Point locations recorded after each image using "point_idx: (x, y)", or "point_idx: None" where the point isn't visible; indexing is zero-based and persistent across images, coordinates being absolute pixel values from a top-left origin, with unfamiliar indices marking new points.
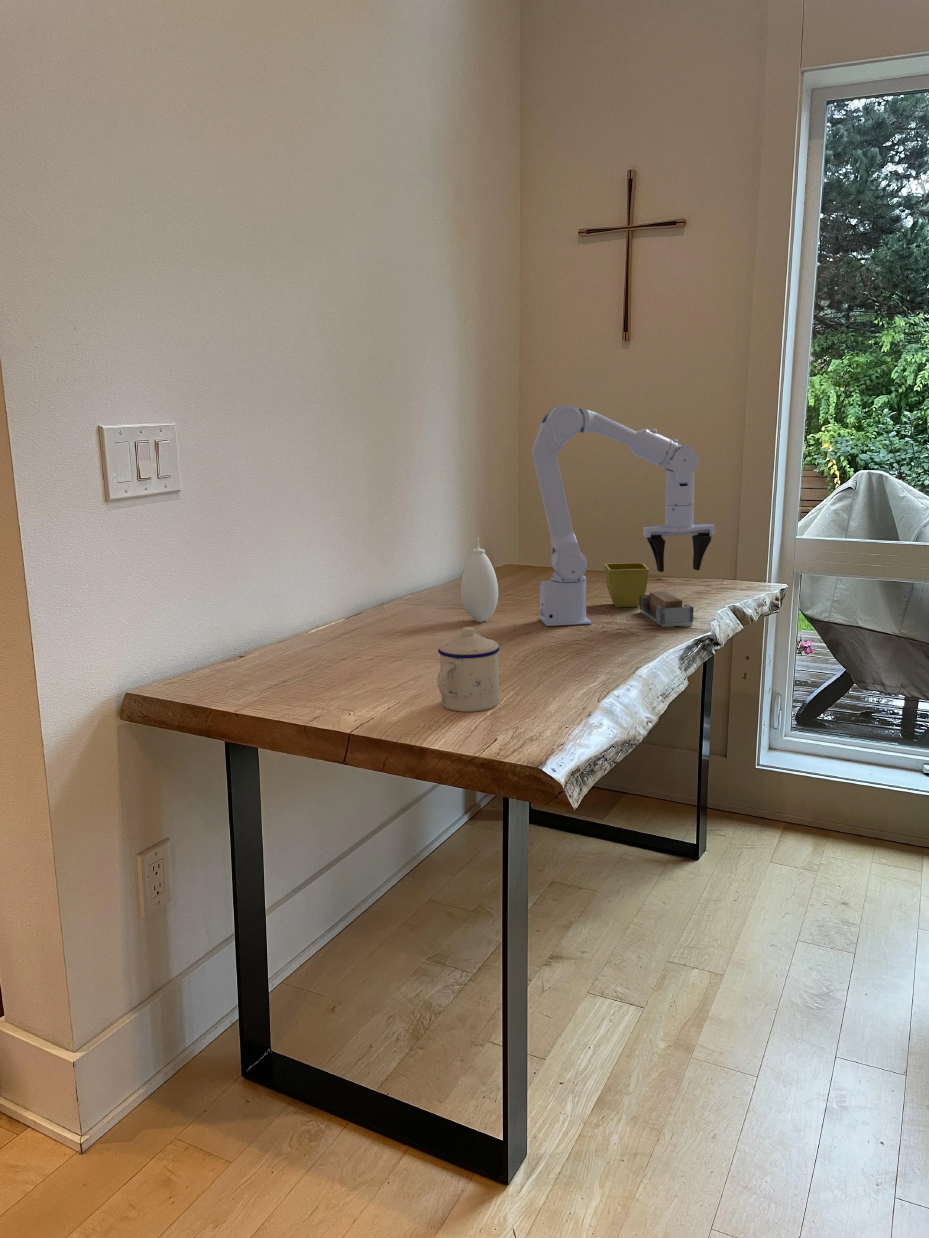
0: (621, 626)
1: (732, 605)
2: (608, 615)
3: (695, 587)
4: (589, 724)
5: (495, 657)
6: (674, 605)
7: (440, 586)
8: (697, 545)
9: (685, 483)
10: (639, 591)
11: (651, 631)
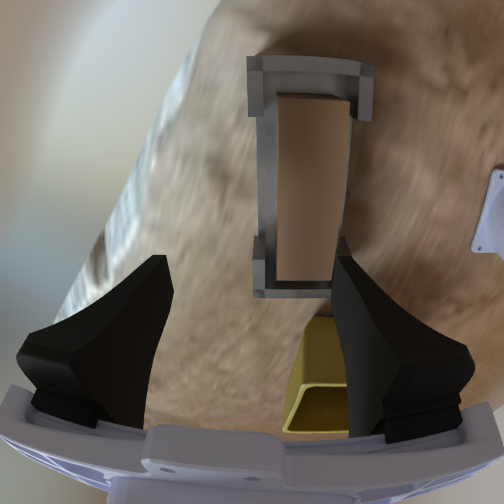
0: (446, 120)
1: (98, 283)
2: (418, 251)
3: (157, 405)
4: None
5: None
6: (310, 97)
7: None
8: (121, 356)
9: None
10: (322, 335)
11: (395, 31)
